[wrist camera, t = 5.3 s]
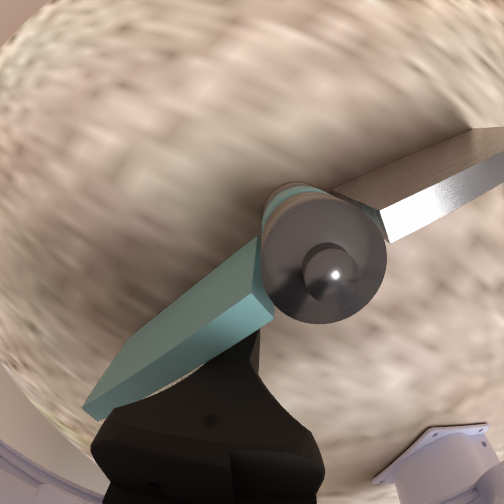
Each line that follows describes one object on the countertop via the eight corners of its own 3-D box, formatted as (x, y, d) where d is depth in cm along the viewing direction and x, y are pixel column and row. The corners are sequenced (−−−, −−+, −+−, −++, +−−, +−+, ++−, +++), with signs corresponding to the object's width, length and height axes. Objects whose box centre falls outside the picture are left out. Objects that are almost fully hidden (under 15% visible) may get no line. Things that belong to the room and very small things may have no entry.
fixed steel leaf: (279, 259, 11) (293, 358, 5) (250, 199, 11) (233, 244, 5) (483, 162, 10) (582, 179, 4) (466, 110, 9) (566, 99, 3)
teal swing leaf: (303, 168, 10) (337, 172, 5) (344, 223, 11) (400, 270, 6) (115, 324, 12) (63, 391, 8) (153, 361, 13) (116, 436, 8)
